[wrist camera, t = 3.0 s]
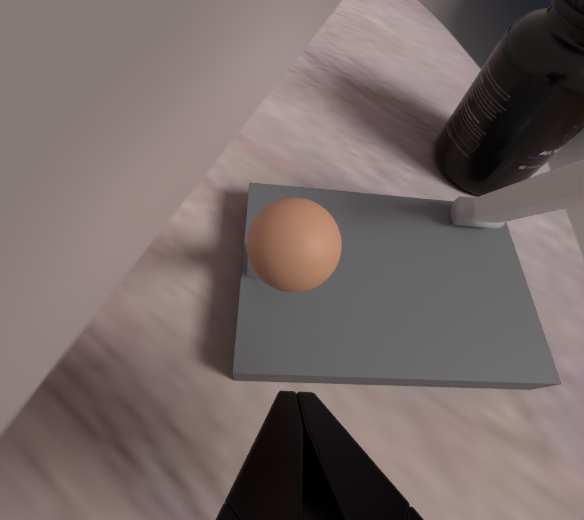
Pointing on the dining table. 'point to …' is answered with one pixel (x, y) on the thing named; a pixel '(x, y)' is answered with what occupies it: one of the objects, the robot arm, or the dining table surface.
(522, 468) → the dining table surface
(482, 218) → the pale grey lever
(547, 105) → the supplement bottle
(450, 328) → the switch panel
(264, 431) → the robot arm
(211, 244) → the dining table surface
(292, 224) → the terracotta lever
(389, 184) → the dining table surface
